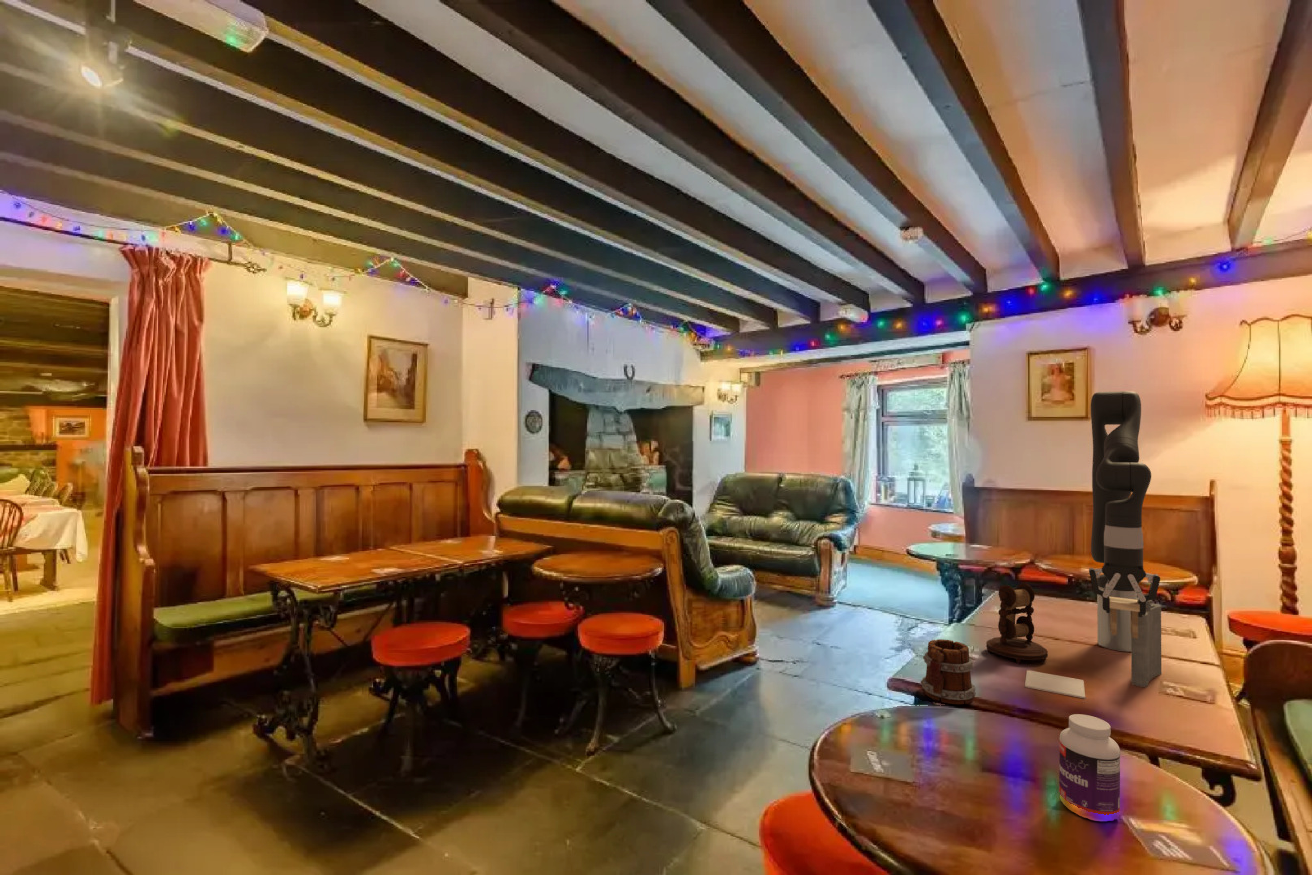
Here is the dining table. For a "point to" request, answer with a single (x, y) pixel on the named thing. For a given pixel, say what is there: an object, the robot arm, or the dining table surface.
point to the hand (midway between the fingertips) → (1123, 614)
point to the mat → (1055, 684)
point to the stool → (1124, 605)
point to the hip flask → (1146, 646)
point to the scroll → (1016, 626)
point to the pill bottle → (1089, 765)
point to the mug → (948, 672)
